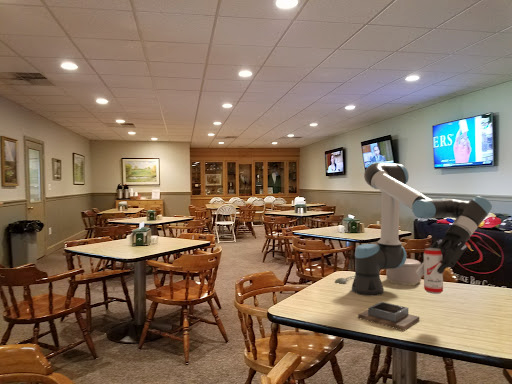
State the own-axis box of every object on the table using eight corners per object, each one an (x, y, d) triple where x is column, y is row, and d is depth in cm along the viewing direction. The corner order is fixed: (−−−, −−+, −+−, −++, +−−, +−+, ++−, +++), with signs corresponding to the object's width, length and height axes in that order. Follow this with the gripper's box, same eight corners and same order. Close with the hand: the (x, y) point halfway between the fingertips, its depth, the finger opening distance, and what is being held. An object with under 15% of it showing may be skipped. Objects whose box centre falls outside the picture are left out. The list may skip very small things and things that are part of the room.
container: (418, 287, 180) (418, 264, 180) (383, 282, 190) (382, 261, 190) (423, 280, 195) (423, 259, 195) (390, 276, 205) (389, 256, 205)
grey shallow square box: (368, 315, 134) (368, 307, 134) (381, 308, 141) (381, 301, 141) (395, 322, 126) (395, 314, 126) (408, 315, 133) (408, 307, 133)
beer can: (445, 294, 124) (444, 250, 124) (427, 294, 126) (426, 250, 126) (439, 289, 131) (439, 247, 131) (422, 289, 132) (421, 247, 132)
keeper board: (358, 318, 135) (358, 314, 135) (375, 309, 145) (375, 306, 145) (403, 330, 122) (403, 326, 122) (419, 320, 132) (419, 316, 132)
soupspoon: (332, 284, 191) (342, 287, 186) (332, 278, 191) (342, 281, 186) (353, 276, 206) (363, 278, 202) (353, 271, 206) (363, 273, 201)
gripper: (489, 240, 122) (451, 290, 119) (447, 234, 141) (413, 277, 137) (476, 226, 121) (438, 275, 117) (436, 222, 140) (401, 264, 136)
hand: (424, 276), depth 127 cm, fingers closed on beer can, 6 cm apart
